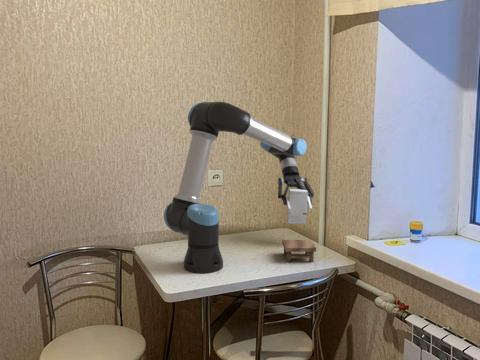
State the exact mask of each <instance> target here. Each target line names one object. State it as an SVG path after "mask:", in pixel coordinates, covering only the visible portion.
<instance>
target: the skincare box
mask: <svg viewBox="0 0 480 360" xmlns="http://www.w3.org/2000/svg"><path fill="white" fill-rule="evenodd" d="M307 198H308V191H307V190H300V189H298V188H288V200H289V204H290V211H289V212H287V217H286V220H287V224H289V225H307V214H308V213H307V211H308V210H307V209H308V207H307Z"/></svg>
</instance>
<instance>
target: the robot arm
mask: <svg viewBox="0 0 480 360" xmlns="http://www.w3.org/2000/svg"><path fill="white" fill-rule="evenodd" d="M251 116H252V115H251V114H250V112H248V111H246V110H244V109H242V108H240V107H238V106H236V105H233V104H231V103H229V102H225V101H203V102H198V103H196V104H194V105H193V106H192V107H191V108H190V110H189V112H188V115H187V122H188V125H189V127H190V128H189V133H190V134H191V140H190V144H189V149H188V152H187V155H186V160H185V164H184V167H183V172H182V176H181V181H180V185H179V189H178V193H177V194H175V195H174V196H173V197H172V200H171V202H170V203H169V204H168V205H166V207H165V209H164V211H163V220H164V223H165V225H166V226H167V228H168V229H170V230H172V231H174V232H175V233H179V234H182V235H185V236H186V237H187V250H186V253H185V255H184V258H183V268H184V269H183V270H186V271H188V272H189V273H190V272H191V273H195V274H209V273H214V272H219V271H221V270H222V268H224V258H223V256H222V253H221V250H220V247H219V245H220V244H219V239H220V236H219V233H220V232H219V231H220V230H219V229H220V227H219V226H220V225H219V223H220V217H219V210H218V209H217V207H216V206H213V205H211V204H207V203H206V204H205V203H202V202H201V200H200V195H201V190H202V189H203V188H202V186H203V184H204V179H205V174H206V170H207V167H208V163H209V158H210V153H211V149H212V146H213V143H214V141H216V140H217V139H218V137H219V133H220V132H224V133H226V132H227V133H233V134H235V135H239V136H242V135H245V136H246V137H248V138H251V139H253V140H256V141H258V142H259V143H260V147H261V149H262V150H264V151H265V152H267V153H269V154H270V155H272V156H273V157H276V158H277V159H278V160H279V164H280V170H281V174H282V178H281V177H278V180H277V184H278V189H277V190H278V191H277V199H281V201H282V203H283V205H284V206H285V207H286V211H287V213H288V212H289V211H290V204H289V200H288V198H289V195H288V196H287V194H288V192H289V189H290V188H296V189H300V190H307V191H308V198H307V209H308V210H307V211H308V212H311V211H312V209H313V206H312V204H313V200H312V198H314V195H315V192H314V190H313V189H312V187H311V185H310V183H309V182H308V178H307V177H304V178H302V177H301V176H300V172H299V168H298V164H297V160H296V157H299V156H300V157H301V156H303V155H305V153H306V151H307V149H308V148H307V146H308V145H307V141H305V140H304V139H303V138H299V137H298V138H296V137H294V136H292V135H289V134H286V133H284V132H283V131H280V130H279V129H276V128H274V127H272V126H270V125H269V124H266V123H264V122H263V121H260V120H259V119H256V118H254V117H251ZM283 183H284V184H285V185H286V186H285V189H284V192H283ZM282 193H283V194H282Z"/></svg>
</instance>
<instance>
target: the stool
mask: <svg viewBox="0 0 480 360" xmlns="http://www.w3.org/2000/svg"><path fill="white" fill-rule="evenodd" d="M281 244H282V246H283V255H284V256H286V263H291V262H292V259H308V262H309V263H315V262H314V261H315V259H314V258H315V257H314V255H315V253H317V247H316V245H315V244H314V242H313V241H312V240H311V239H281ZM296 252H297V253H304V254H295V255H294V254H292V253H296Z"/></svg>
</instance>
